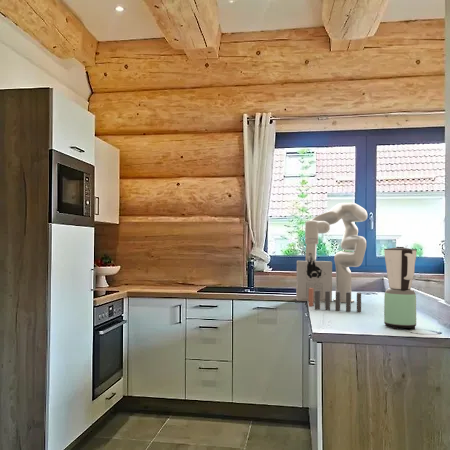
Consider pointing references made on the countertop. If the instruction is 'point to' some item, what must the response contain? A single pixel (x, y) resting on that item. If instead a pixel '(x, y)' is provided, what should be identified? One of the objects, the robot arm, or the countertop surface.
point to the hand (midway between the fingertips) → (311, 271)
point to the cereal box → (313, 280)
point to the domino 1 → (311, 296)
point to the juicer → (400, 288)
